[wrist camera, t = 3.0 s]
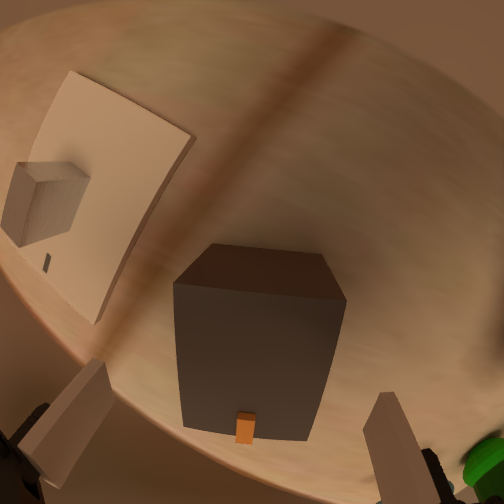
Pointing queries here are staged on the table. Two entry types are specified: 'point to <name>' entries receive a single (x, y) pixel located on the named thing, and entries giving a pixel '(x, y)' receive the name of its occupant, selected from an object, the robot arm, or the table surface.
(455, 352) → the table surface
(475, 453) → the plastic bottle
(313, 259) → the dark grey block
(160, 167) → the board
